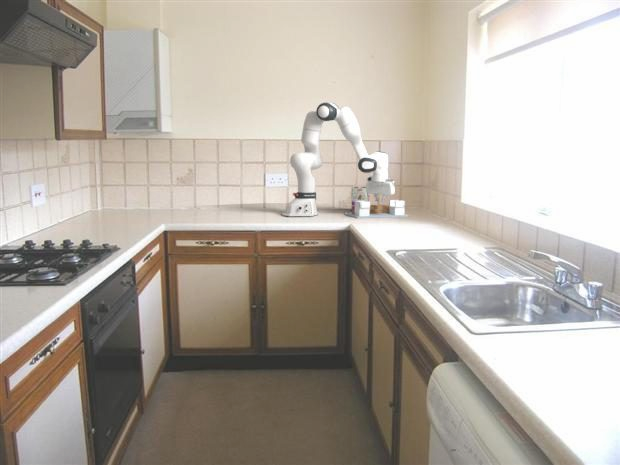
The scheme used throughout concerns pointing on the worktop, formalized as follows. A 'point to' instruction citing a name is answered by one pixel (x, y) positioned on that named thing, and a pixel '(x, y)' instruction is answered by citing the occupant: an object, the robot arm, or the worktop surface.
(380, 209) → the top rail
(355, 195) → the candy bar box
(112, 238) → the worktop surface
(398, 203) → the grey base with supports
